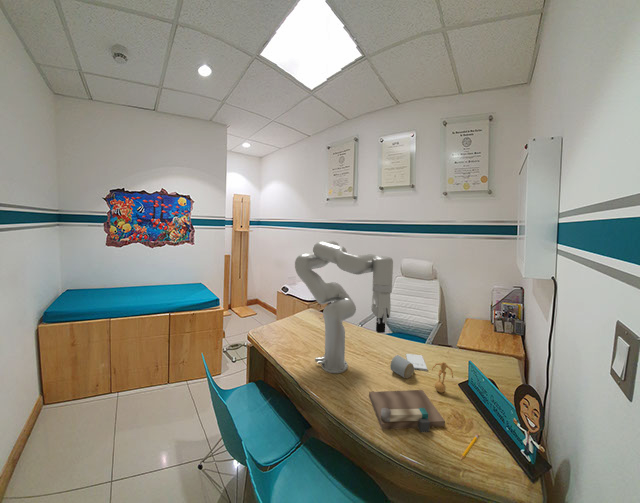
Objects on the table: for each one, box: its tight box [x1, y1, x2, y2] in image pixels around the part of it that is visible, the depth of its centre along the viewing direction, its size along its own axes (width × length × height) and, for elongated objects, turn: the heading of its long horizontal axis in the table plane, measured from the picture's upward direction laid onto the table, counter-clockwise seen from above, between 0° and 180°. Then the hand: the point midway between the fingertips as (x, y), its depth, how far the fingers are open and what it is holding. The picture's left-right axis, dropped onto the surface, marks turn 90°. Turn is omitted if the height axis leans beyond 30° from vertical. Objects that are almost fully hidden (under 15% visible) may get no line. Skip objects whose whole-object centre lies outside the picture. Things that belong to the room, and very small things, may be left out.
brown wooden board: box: [368, 389, 446, 430], centre depth 92 cm, size 22×16×2 cm
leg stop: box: [417, 419, 431, 433], centre depth 83 cm, size 3×2×4 cm, turn 94°
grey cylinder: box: [389, 354, 415, 379], centre depth 114 cm, size 11×8×8 cm
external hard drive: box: [405, 353, 428, 372], centre depth 124 cm, size 2×8×12 cm
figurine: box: [431, 361, 454, 393], centre depth 103 cm, size 8×6×12 cm
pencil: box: [460, 434, 479, 460], centre depth 77 cm, size 1×13×1 cm, turn 130°
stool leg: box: [381, 408, 428, 422], centre depth 85 cm, size 16×3×3 cm, turn 92°
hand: (380, 331), depth 101 cm, fingers closed
